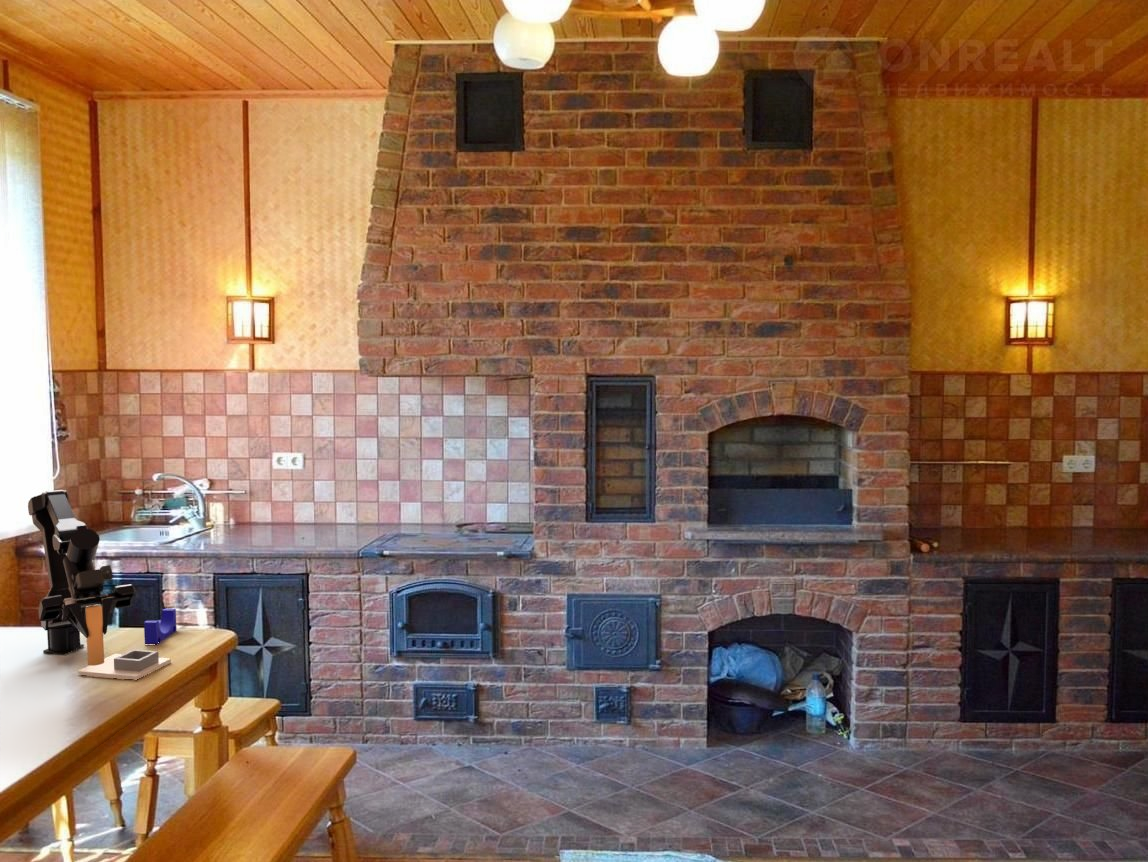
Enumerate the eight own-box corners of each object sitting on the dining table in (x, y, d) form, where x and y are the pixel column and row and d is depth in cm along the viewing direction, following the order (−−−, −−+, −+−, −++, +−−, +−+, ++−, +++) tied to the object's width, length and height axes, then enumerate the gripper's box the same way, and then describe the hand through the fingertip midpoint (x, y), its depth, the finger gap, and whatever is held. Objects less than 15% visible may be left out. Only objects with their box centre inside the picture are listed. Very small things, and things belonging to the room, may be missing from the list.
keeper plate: (78, 675, 210) (77, 660, 209) (115, 657, 221) (114, 643, 221) (136, 680, 206) (135, 665, 206) (170, 662, 218) (170, 648, 218)
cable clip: (159, 631, 243) (158, 608, 242) (176, 631, 243) (175, 608, 242) (138, 646, 231) (137, 622, 230) (156, 645, 231) (156, 622, 230)
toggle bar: (84, 664, 201) (81, 608, 200) (95, 660, 204) (92, 604, 203) (97, 666, 200) (94, 609, 199) (107, 661, 203) (105, 605, 202)
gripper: (38, 561, 197) (52, 623, 190) (132, 548, 209) (149, 607, 202) (32, 589, 204) (46, 651, 196) (123, 576, 216) (139, 633, 208)
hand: (96, 635), depth 201 cm, fingers closed on toggle bar, 3 cm apart
